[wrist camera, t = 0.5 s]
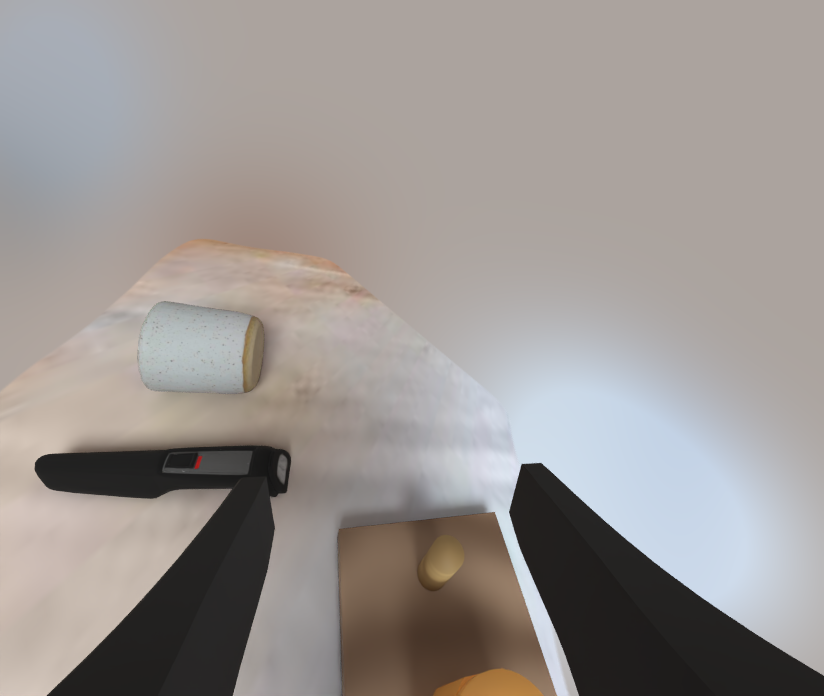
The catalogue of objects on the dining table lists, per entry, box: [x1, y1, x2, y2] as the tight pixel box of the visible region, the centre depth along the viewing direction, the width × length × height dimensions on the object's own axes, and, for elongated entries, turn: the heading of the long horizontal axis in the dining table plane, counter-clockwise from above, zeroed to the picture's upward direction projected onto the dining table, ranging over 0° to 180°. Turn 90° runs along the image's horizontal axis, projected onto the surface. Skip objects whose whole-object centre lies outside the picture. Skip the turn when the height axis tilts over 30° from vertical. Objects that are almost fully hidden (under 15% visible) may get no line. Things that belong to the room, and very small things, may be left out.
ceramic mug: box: [137, 301, 264, 394], centre depth 32 cm, size 11×8×8 cm
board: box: [338, 512, 557, 696], centre depth 20 cm, size 15×12×6 cm
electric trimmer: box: [35, 446, 291, 499], centre depth 26 cm, size 4×16×3 cm, turn 97°
